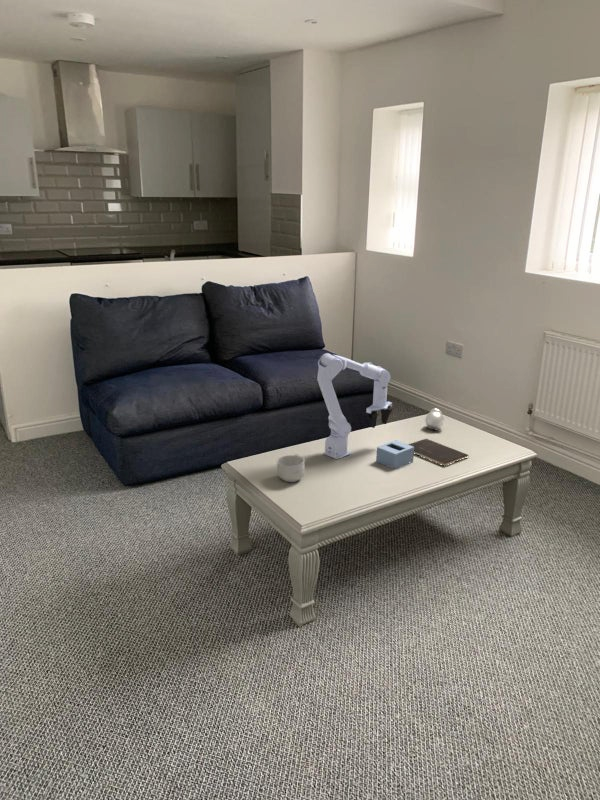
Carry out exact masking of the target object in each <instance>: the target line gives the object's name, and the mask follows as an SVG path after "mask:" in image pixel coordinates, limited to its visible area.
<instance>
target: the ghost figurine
mask: <svg viewBox="0 0 600 800" xmlns="http://www.w3.org/2000/svg"><path fill="white" fill-rule="evenodd" d="M424 422H425V425H426V426H427V428H428V429H430V430H433V429H437V430H439V429H442V427H443V426H444V424H445V417H444V416H443V412H442V411H441V410H440V409H439V408H436V407H434V408H432V409H430V411H429V412H428V413H427V414H426V416H425V419H424Z"/></svg>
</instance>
